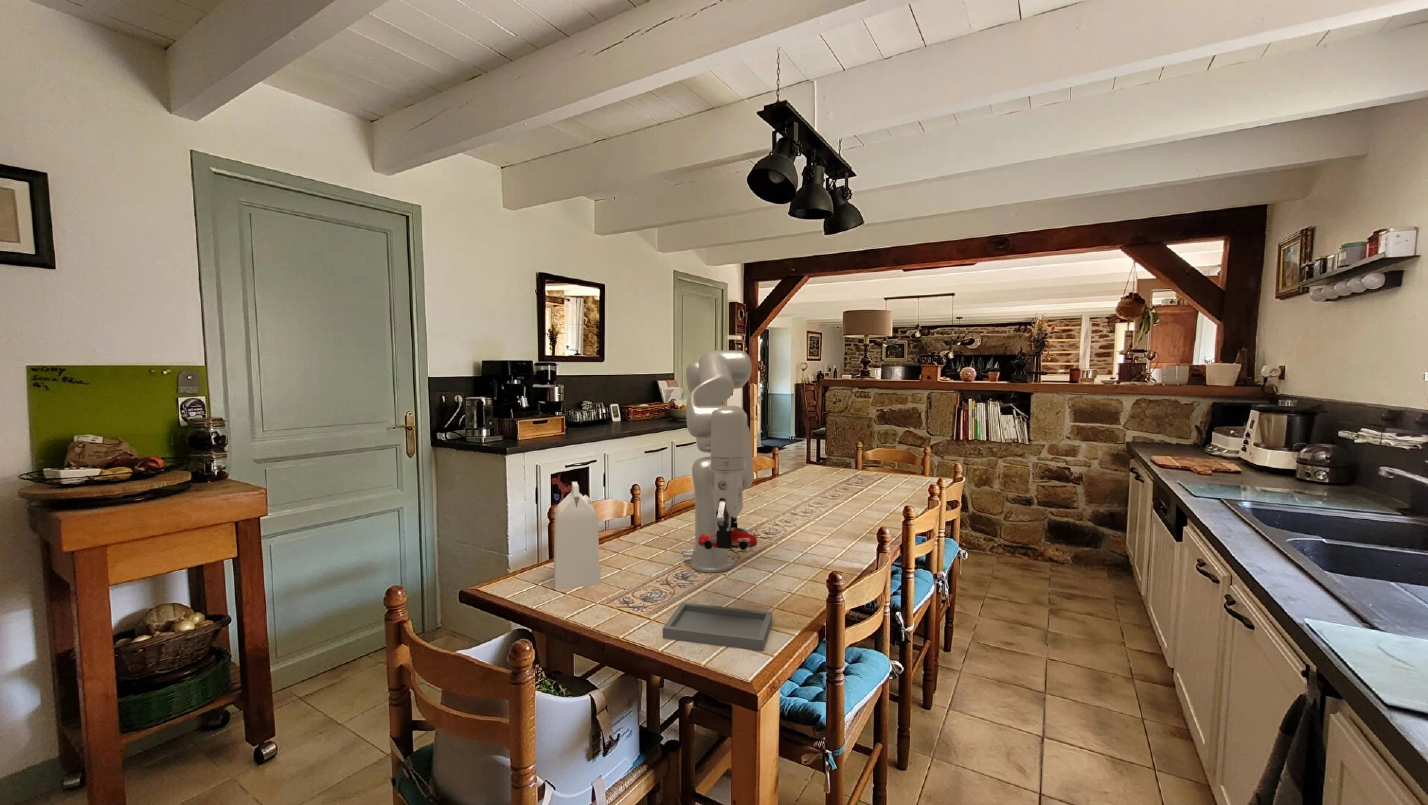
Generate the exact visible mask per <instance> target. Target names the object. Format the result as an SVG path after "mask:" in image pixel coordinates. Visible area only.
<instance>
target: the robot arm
mask: <svg viewBox="0 0 1428 805" xmlns="http://www.w3.org/2000/svg"><path fill="white" fill-rule="evenodd" d="M752 367H753V366H752V361H751V358H750V356H749V354H748V353H747V352H746V351H743V350H720V349H719V350H717V349H716V350H708V351H706V352H704V353H703V354H702V355H701V356H700V358H699V359H698V360H696V361H692V362H690V363H689V364H688V365H687V367H686V368H685V369H686V370H685V379H686V385H687V390H688V392H689V395H688V397H687V399H686V404H685V414H686V415H685V416H686V426H687V430H688V433H689V434H690V436H692V437H693V438H695V439H696V440H695V441H696V446H697V449H698V450H699V451H700V452H702V453H707V454H710V456H704V457H699V458H698V459H696V460H695V461H694V462H693V464H692V467H691V476H692V483H693V490H694V511H695V512H694V517H695V518H694V524H695V525H694V531H695V532H694V536H695V537H694V538H695V540H694V542H695V543H694V544H695V546H694V547H693V548H686V547H682V549H681V555H682V556H683V558H690V560H689V566H690V568H691V569H694V570H695V571H697V572H701V573H702V572H703V573H720V572H725V571H728V570H730V569H732V568H733V567H734V559H732V558H731V557H730V556H729V550H731V549H732V548H731V547H732V530H730V527H732V528H738V516H739V515H740V513H741V512H742V510H743V508H744V501H743V499H744V498H743V494H744V493H743V490H747V489H749V488H750V487H751V486H752V484H753V482H754V468H753V466H754V464H753V453H752V452H753V451H752V439H751V430H750V427H749V425H748V414H747V412H745V410H744V408H742V407H741V406H738V405H737V406H736V405H724V404H723V403H724V402H726V401H727V400H729V399H730V397H731V396H732V395H733V393H734V390H736V389H737V390H738V389H742V388H743V387H744V386H745V385H746V383H747V382H749V380H750V378H751V375H752V369H753V368H752ZM710 532H717V548H713V546H712V548H711V549H706V548H705V547H704V546H700V545H699V543H698V539H699V537H700V536H701V535H703V534H705V533H710Z"/></svg>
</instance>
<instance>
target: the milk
mask: <svg viewBox="0 0 1428 805" xmlns="http://www.w3.org/2000/svg"><path fill="white" fill-rule="evenodd" d="M598 519H599V518H598V512H597V509H596V507H595V505H594V504H593V500H592V499H591V498H590V497H589V496H588V495H587V494H584V495H583V494H582V493H581V492H580V486H579V484H578V481H571V492H570V493H568V494H567V495H566V497H564V498H563V499H562V500H561V501H560V502H559V503H558V504H557V505H556V507H555V511H554V542H553V543H554V546H553V551H554V552H553V580H554V589H555V591H557V590H564V589H572V588H582V587H590V586H599V585H601V571H600V570H601V568H600V567H601V565H600V564H601V562H600V542H599V524H598V523H599V521H598Z"/></svg>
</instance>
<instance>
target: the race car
mask: <svg viewBox="0 0 1428 805" xmlns="http://www.w3.org/2000/svg"><path fill="white" fill-rule="evenodd" d="M730 530H732V547H731V549H740V550H741V551H746V550H747V549H748V548H749V549H750V548H754V547H756V546H757V545H758V543H757V542H758V537H756V532H753V531H750V530H747V529H744V528H740V527H737V528H732V527H730ZM698 543H699V545H700V546H704V547H705V548H706V549H711V548H712V546H713V548H717V532H710V533H705V534H703V535H701V536H700V537H699V539H698Z"/></svg>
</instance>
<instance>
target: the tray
mask: <svg viewBox="0 0 1428 805" xmlns="http://www.w3.org/2000/svg"><path fill="white" fill-rule="evenodd" d="M772 625H773V611H764V610H757V609H746V608H739V607H728V606H720V605H719V606H718V605H712V604H703V603H702V604H701V603H694V602H693V603H691V602H684V601H683V602H682V601H681V603H680V604H679V605H678V607H677V608H676V609H675V611H674V612H673V613H672V615H671V616H670V617H669V619H668V620H667V621H666V623H665V624H664V626H663V627H662V639H665V640H672V641H673V640H674V641H680V642H681V641H683V642H691V643H695V644H696V643H697V644H698V643H699V644H705V645H713V646H723V647H727V648H728V647H729V648H737V649H745V650H752V651H759V652H763V651H764V649H765V646H766V642H767V640H768V636H769V634H770V630H771V627H772Z"/></svg>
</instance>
